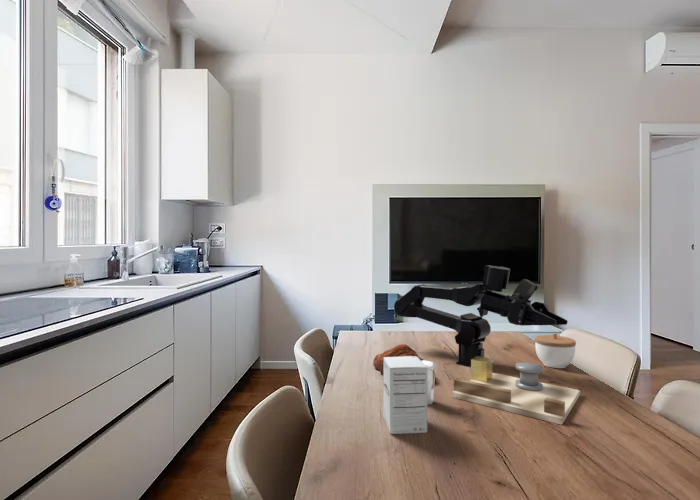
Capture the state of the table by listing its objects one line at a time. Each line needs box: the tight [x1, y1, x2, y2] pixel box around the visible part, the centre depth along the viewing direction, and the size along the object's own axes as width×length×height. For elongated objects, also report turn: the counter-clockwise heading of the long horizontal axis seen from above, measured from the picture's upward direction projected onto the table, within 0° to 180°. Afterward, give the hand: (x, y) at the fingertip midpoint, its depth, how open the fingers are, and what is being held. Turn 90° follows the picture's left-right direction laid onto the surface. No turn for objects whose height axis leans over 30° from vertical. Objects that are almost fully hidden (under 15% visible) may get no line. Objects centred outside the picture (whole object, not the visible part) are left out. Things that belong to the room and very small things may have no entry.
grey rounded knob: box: [515, 361, 544, 391], centre depth 96 cm, size 6×6×5 cm
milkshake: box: [422, 359, 437, 405], centre depth 90 cm, size 4×5×10 cm
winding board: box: [451, 372, 581, 426], centre depth 93 cm, size 23×20×4 cm
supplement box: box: [382, 356, 428, 435], centre depth 78 cm, size 7×7×13 cm
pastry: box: [372, 343, 424, 376], centre depth 110 cm, size 17×15×8 cm
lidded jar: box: [534, 332, 577, 369], centre depth 118 cm, size 11×11×9 cm
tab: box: [470, 356, 493, 382], centre depth 102 cm, size 4×4×5 cm
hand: (561, 322), depth 101 cm, fingers open, 9 cm apart
